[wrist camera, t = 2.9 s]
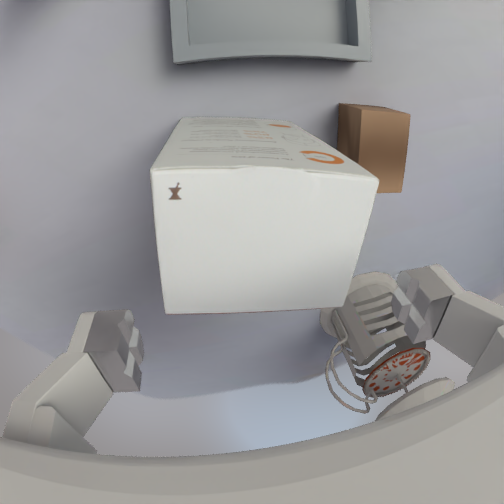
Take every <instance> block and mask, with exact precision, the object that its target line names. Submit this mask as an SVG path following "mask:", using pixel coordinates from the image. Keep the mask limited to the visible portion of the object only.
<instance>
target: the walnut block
mask: <svg viewBox="0 0 504 504" xmlns="http://www.w3.org/2000/svg"><path fill="white" fill-rule="evenodd" d="M409 126H410V114H407V113H403V112H400V111H396V110H393V109H389V108H385V107H379V106H369V105H357V104H343V103H339V115H338V140H337V151H339V152H340V153H342V154H343V155H345V156H346V157H348V158H349V159H351V160H353V161H354V162H356V163H357V164H359V165H360V166H361V167H363V168H364V169H366V170H367V171H369V172H370V173H371V174H373V175H374V176H376V177H377V178H378V179H379V185H378V189H377V192H376V193H400V192H401V191H402V185H403V178H404V171H405V163H406V155H407V146H408V137H409Z"/></svg>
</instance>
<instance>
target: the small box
mask: <svg viewBox="0 0 504 504" xmlns="http://www.w3.org/2000/svg"><path fill="white" fill-rule="evenodd" d="M150 181H151V192H152V204H153V215H154V226H155V236H156V245H157V253H158V262H159V270H160V277H161V285H162V294H163V301H164V309H165V314H223V313H250V312H272V311H291V310H307V309H322V308H335V307H342V306H343V305H344V302H345V299H346V296H347V293H348V290H349V287H350V284H351V280H352V277H353V274H354V271H355V267H356V264H357V261H358V257H359V254H360V250H361V247H362V244H363V240H364V237H365V233H366V230H367V226H368V223H369V219H370V215H371V212H372V208H373V204H374V200H375V196H376V192H377V189H378V185H379V179H378V178H377V177H376V176H374V175H373V174H371V173H370V172H369V171H367V170H366V169H364V168H363V167H361V166H360V165H359V164H357V163H356V162H354V161H353V160H351V159H349V158H348V157H346V156H345V155H343V154H342V153H340V152H339V151H337V150H336V149H334V148H333V147H331V146H330V145H328V144H326V143H325V142H323V141H322V140H320V139H318V138H317V137H315V136H313V135H312V134H310V133H308V132H307V131H305V130H303V129H301V128H300V127H298V126H296V125H295V124H293V123H291V122H290V121H282V120H270V119H256V118H234V117H184V118H181V120H180V121H179V123H178V124H177V126H176V127H175V129H174V130H173V132H172V133H171V135H170V137H169V138H168V140H167V142H166V143H165V145H164V147H163V148H162V150H161V152H160V153H159V155H158V157H157V158H156V160H155V162H154V163H153V165H152V167H151V168H150Z"/></svg>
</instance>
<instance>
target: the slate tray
mask: <svg viewBox="0 0 504 504" xmlns="http://www.w3.org/2000/svg"><path fill="white" fill-rule="evenodd" d="M170 18H171V35H172V50H173V63H175V64H177V65H179V64H186V63H194V62H203V61H213V60H225V59H241V58H315V59H331V60H342V61H352V62H372V52H371V26H370V10H369V0H170Z"/></svg>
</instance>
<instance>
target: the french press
mask: <svg viewBox="0 0 504 504" xmlns="http://www.w3.org/2000/svg"><path fill="white" fill-rule="evenodd" d="M397 288H398V286H397V283H396V281H395V280H394V279H393V278H392V277H391V276H390V275H389V274H385V273H380V272H370V273H365V274H360V275H357V276H355V277H353V278H352V280H351V284H350V287H349V290H348V293H347V296H346V299H345V302H344V305H343V306H342V307H335V308H322V309H321V313H320V324H321V326H322V328H323V329H324V331H325V333H327V334H329V335H331V336H333V337H335V338H337V340H338V343H337V344H336V345H335V347H334V348H333V349H332V351H331V356H330V358H329V360H328V361H327V363H326V368H325V375H326V380H327V383H328V387H329V390H330V392H331V393H332V395H333V396H334V397H335V398H336V399H337V400H338V401H339V402H340V403H341V404H342V405H343V406H345V407H347V408H349V409H351V410H353V411H356V412H360V413H364V414H365V413H368V412H369V410H370V407H369V404H368V403H375V402H376V401H377V399H378V398H377V397H381V396H382V397H384V396H386V395H389V394H392V393H395V392H396V391H398V390H401V389H402V388H404V390H405V392H406V394H404V395H403V396H401V397H400V398H398V399H397V400H395V401H394V402H393V403H391V404H390V405H389V406H387V407H386V408H385V409H384V410H383V411H382V412H381V413H380V414H379V415H378V417H377V419H376V420H375V421H378V420H381V419H383V418H386V417H389V416H392V415H395V414H397V413H400V412H403V411H405V410H408V409H410V408H413V407H415V406H418V405H420V404H423V403H425V402H428V401H430V400H432V399H434V398H437V397H439V396H441V395H443V394H446V393H448V392H450V391H452V390H454V384H455V382H453V381H452V380H451V379H449V378H447V377H445V378H438V379H434V380H432V381H430V382H427V383H424V384H422V385H420V386H418V387H416V388H415V389H413V390H411V391H409V392H408V390H407V388H406V386H407V385H409V384H410V383H412V381H414V380H416V379H417V378H419V376H420V375H421V374H422V373H423V371H424V370H425V369H426V368H427V366H428V364H429V361H430V352H429V351H427V350H426V349H425V347H426V341H423V342H419V343H416V344H413V343H412V342H411V340H410V339H409V337H408V336H407V334H406V333H405V331H404V324H403V323H401V322H399V321H398V320H397V319H396V317H395V316H394V314H393V311H392V304H391V300H392V296H393V293H394V291H395V290H396V289H397ZM384 328H386V330H387V331H386V332H384V333H380V334H376V333H378V332H379V331H381V330H382V329H384ZM375 334H376V335H375ZM394 343H395V345H396V347H395V348H394V349H392V350H390V351H389V352H388V353H386V354H385V355H384V356H383V357H381V358H380V359H379V360H378V361H377V362H376V363H375V364H374V365H372V366H371V367H370V368H368V369H365V370H359V369H356V368H354V366H353V364H355V365H357V366H363V365H367V364H368V363H369V362H370V361H372V360H373V359H374V358H375V357H376V356H377V355H378V354H379V353H381V352H382V351H383V350H384V349H386V348H387V347H389V346H390V345H392V344H394ZM339 345H340V347H341V349H340V350H339V351H337V352H336V353H334V351H335V349H336V348H337V346H339ZM346 347H348V348H350V349H351V350H352V352H353V353H352V352H350V351H348V350H346ZM342 351H343V353H344V355H345V358H346V360H347V362H348V365H349V367H350V369H351V371H352V374H353V376H354V378H355V381H356V383H357V385H359V386H361V387H363V392H364V394H365V395H366V398H365V399H363V398H360V397H359V396H357V395H355V394H353V393H351V392H350V391H349V390H348V389H347V388H346V387H344V385H342V383H341V382H340V381H339V379H338V376H337V374H336V371H335V369H334V365H333V357H335V356H336V355H338V354H339V353H341V352H342ZM397 352H399V353H397ZM396 353H397V354H396ZM394 354H395V355H394ZM349 355H351V356H353V357H355V359H356V361H355V360H353V359H350V356H349ZM392 355H393V356H392ZM368 356H369V357H368ZM367 357H368V358H367ZM366 358H367V359H366ZM329 363H331V369H332V371H333V374H334V376H335V379H336V381H337V383H338V384H339V385H340V386H341V387H342V388H343V389H344V390H345V391H346V392H347V393H348V394H350V395H351V396H353V397H355V398H356V399H358V400H360V401H363V402H365V404H366V408H367V410H360V409H355V408H353V407H351V406H349V405H348V404H346V403H344V402H343V401H342V400H341V399H340V398H339V397H338V396H337V395H336V394H335V392H334V391H333V390H332V387H331V384H330V381H329V378H328V368H329ZM356 373H359V374H361V375H367V374H369V376H368V377H367V378H366V379H365V380H364V379H361V378H358V377H357V376H356ZM368 397H374V400H368Z"/></svg>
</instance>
